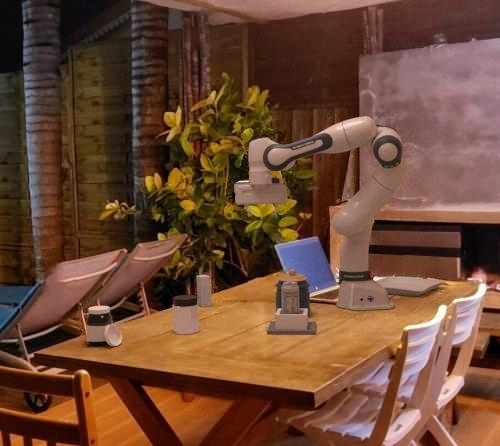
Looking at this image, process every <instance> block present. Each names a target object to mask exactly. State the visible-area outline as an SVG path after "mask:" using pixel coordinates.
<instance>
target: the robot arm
mask: <svg viewBox="0 0 500 446" xmlns="http://www.w3.org/2000/svg"><path fill="white" fill-rule="evenodd" d="M402 141H403V140H402V138H401V136H400V134H399V131H397V130H396V129H395V128H394V127H392V126H388V125H381V124H376V122H375V120H374V119H373V118H372V117H370V116H366V115H365V116H364V115H363V116H359V117H357V116H356V117H353V118H350V119H346V120H343V121H339V122H338V123H336V124H333V125H330V126H328V127H327V128H325V129H323V130H322V131H320V132H318V133H316V134H314V135H312V136H309V137H306V138H303V139H301V140H298V141H297V140H296V141H295V142H291V143H288V144H281V143H278V142H276V141H274V140H271V139H270V138H269V137H267V136H264V137H263V136H262V137H257V138H254V139H252V140H251V141H250V142H249V145H248V155H247V156H248V157H247V158H248V164H249V171H248V177H249V178H248V180H237V182H235V183H234V185H233V190H234V192H235V196H234V198H235V199H234V200H235V201H234V203H235V204H236V205H237V206H244V209H245V211H246V212H247V217H253V214H252V213H253V212H252V211H250V210H249V206H250V205H273V204H274V207H275V208H274V210H271V213H272V214H271V216H273V217H274V216H277V210H278V209H279V206H280V205H279V204H287V202H288V200H289V199H288V193H287V187H286V186H285V185H284V181H285V180H284V178H282V177H279V176H276V175H273V172H280V171H281V172H282V171H284V172H285V171H288V170H289V169H292V168H293V167H294V165H295V164H296V162H297V161H298V160H299V159H302V158H305V157H309V156H313V155H316V154H340V153H347V152H350V151H352V150H354V149H357V148H359V147H368V148H371V150H372V154H373V156H374V158H375V160H376V161H377V162H378V163H379V164H378V166H377V167H376V169H375V170H374V171H373V173H372V174H371V175H370V176H369V178H368V179H367V181H366V182H365V183H364V184H363V185H362V186H361V188H360V189H359V190H358V191H357V192H356V193H355V194H354V195H353V196H352V197H351V198H350V199H349V200H348V201H347V202H346V203H344V205H343V206H342V207H341V208H340V209H339V210H338V211H337V212H336V213H335V214H334V215H333V217H332V220H331V225H332V228H333V230H334V232H335V233H337V234H338V235H340V236H343V240H342V243H341V245H340V248H339V270H338V284H339V287H338V288H339V289H338V290H339V291H338V296H337V302H336V304H335V305H336V306H337V307H338V308H341V309H347V310H350V311H371V310H372V311H373V310H375V311H376V310H391V309H394V308H395V302H394V301H393V300H390V298H389V294H388V293H387V291H386V289H385V288H384V287H383V286H381V285H380V284H379V283H377V282H376V280H375V278H376V273H375V272H374V271H372V270H371V269H369V248H370V242H371V237H372V236H371V235H372V231H373V230H372V229H373V225H374V223H375V215H376V214H377V213H379V212H380V210H382V209H383V208H384V207H385V206H386V204H387V203H388V202H389V201H390V200H391V199H392V197H393V196H394V195H395V193H396V192H397V191H398V190H399V188H400V187H401V186H402V184H403V182H404V181H405V179H406V177H407V176H408V173H409V169H410V168H409V165H408V163H407V162H406V160H404V159H403V158H402V157H403V156H402V155H403V142H402Z"/></svg>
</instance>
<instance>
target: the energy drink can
mask: <svg viewBox="0 0 500 446" xmlns="http://www.w3.org/2000/svg"><path fill="white" fill-rule="evenodd" d="M281 296H282V314H299V286H298V285H297V282H294V281H287V282H283V285H282V287H281Z"/></svg>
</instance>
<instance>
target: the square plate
mask: <svg viewBox="0 0 500 446" xmlns="http://www.w3.org/2000/svg"><path fill="white" fill-rule="evenodd" d="M375 281H376V282H377V283H379V284H380V285H381V286H383V287H384V288H385V289H386V291H387V293H388V295H395V296H396V295H397V296H405V297H406V296H407V297H418V296H421V295H423V294H426V293H428V292H430V291H432V290H434V289H437V288H439V287H440V286H442V285H443V283H445V281H444V280H437V279H429V278H418V277H406V276H405V277H401V276H386V277H382V278H379V279H377V280H375Z"/></svg>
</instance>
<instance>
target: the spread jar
mask: <svg viewBox="0 0 500 446" xmlns="http://www.w3.org/2000/svg"><path fill="white" fill-rule="evenodd" d="M110 309H111V307H110V306H109V305H95V306H90V307H88V308H87V311H88V312H87V313H88V314H87V317H86V325H85V326H86V340H87V343H88V345H90V346H93V347H102V346H103V347H104V346H107V345H109V346H110V347H113V348H114V347H117V346H120V345H121V344H122V342H123V333H122V330H121V328H120V327H119V326H118V325H116V324H113V316H112V314H111V311H110Z"/></svg>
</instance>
